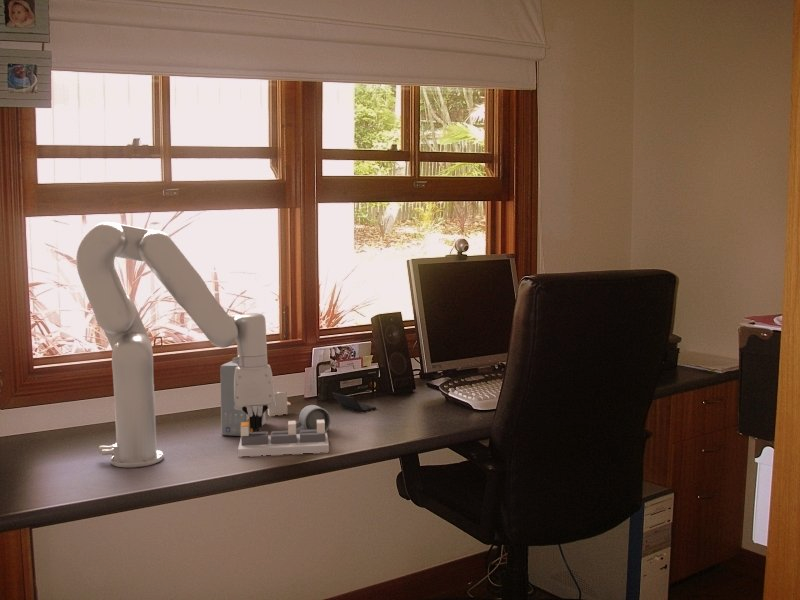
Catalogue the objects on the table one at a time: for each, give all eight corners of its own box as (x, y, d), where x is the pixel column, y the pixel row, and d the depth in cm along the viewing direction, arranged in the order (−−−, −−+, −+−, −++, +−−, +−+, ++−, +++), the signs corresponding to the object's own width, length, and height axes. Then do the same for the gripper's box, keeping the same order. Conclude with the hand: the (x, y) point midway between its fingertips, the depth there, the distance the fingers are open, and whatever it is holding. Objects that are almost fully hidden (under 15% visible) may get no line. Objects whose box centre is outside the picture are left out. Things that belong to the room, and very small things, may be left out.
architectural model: (266, 415, 251) (265, 391, 250) (287, 412, 254) (287, 389, 253) (269, 418, 248) (269, 394, 247) (291, 415, 251) (290, 391, 250)
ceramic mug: (322, 426, 235) (321, 400, 234) (331, 433, 228) (330, 406, 227) (286, 431, 231) (285, 405, 230) (294, 438, 223) (293, 411, 223)
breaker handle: (240, 436, 210) (240, 425, 210) (241, 432, 214) (241, 422, 213) (248, 436, 210) (248, 425, 210) (249, 432, 214) (249, 421, 213)
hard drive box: (246, 437, 224) (244, 366, 222) (220, 436, 226) (218, 365, 224) (266, 423, 240) (264, 356, 238) (242, 422, 241) (240, 355, 239)
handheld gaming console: (380, 403, 257) (364, 382, 252) (370, 421, 252) (353, 399, 247) (353, 403, 264) (337, 382, 259) (343, 420, 259) (326, 400, 255)
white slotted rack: (238, 457, 206) (237, 430, 205) (241, 443, 218) (240, 419, 217) (328, 452, 209) (328, 426, 208) (327, 439, 221) (326, 415, 220)
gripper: (222, 365, 206) (226, 436, 208) (281, 362, 207) (284, 432, 209) (224, 360, 213) (228, 428, 215) (282, 357, 215) (285, 424, 217)
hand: (256, 430), depth 212 cm, fingers closed
